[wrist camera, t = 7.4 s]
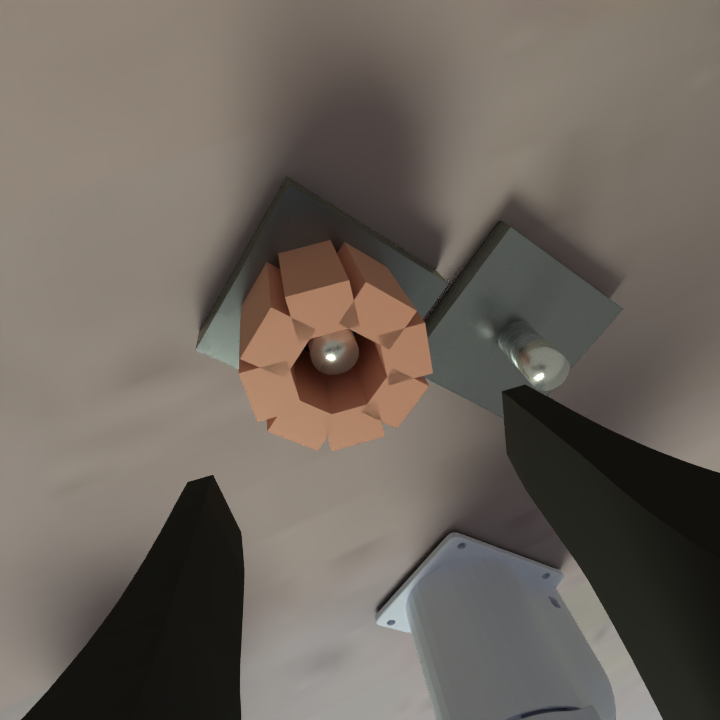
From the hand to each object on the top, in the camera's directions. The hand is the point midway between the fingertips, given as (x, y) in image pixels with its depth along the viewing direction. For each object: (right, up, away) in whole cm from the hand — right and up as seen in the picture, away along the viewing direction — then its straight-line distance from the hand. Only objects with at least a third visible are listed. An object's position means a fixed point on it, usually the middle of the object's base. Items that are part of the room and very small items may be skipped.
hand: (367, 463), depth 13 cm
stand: (+6, +4, +11) cm, 13 cm away
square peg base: (-2, +5, +8) cm, 10 cm away
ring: (-2, +4, +7) cm, 8 cm away
